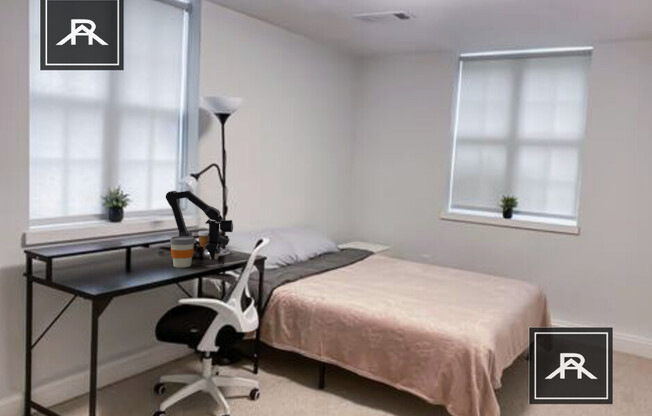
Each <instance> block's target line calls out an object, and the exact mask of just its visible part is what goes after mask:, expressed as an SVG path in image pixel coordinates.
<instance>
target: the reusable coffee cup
mask: <svg viewBox="0 0 652 416" xmlns="http://www.w3.org/2000/svg"><path fill="white" fill-rule="evenodd" d="M169 244H170V255H171V258H172V262H173V264H172V265H173V267H174V268H189V267H191V266H192V260H193V257H194V253H195V252H194V251H195V248H194V245H195V237H194V236H192V237H189V236H179V235H178V236H171V237H170V242H169Z"/></svg>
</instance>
